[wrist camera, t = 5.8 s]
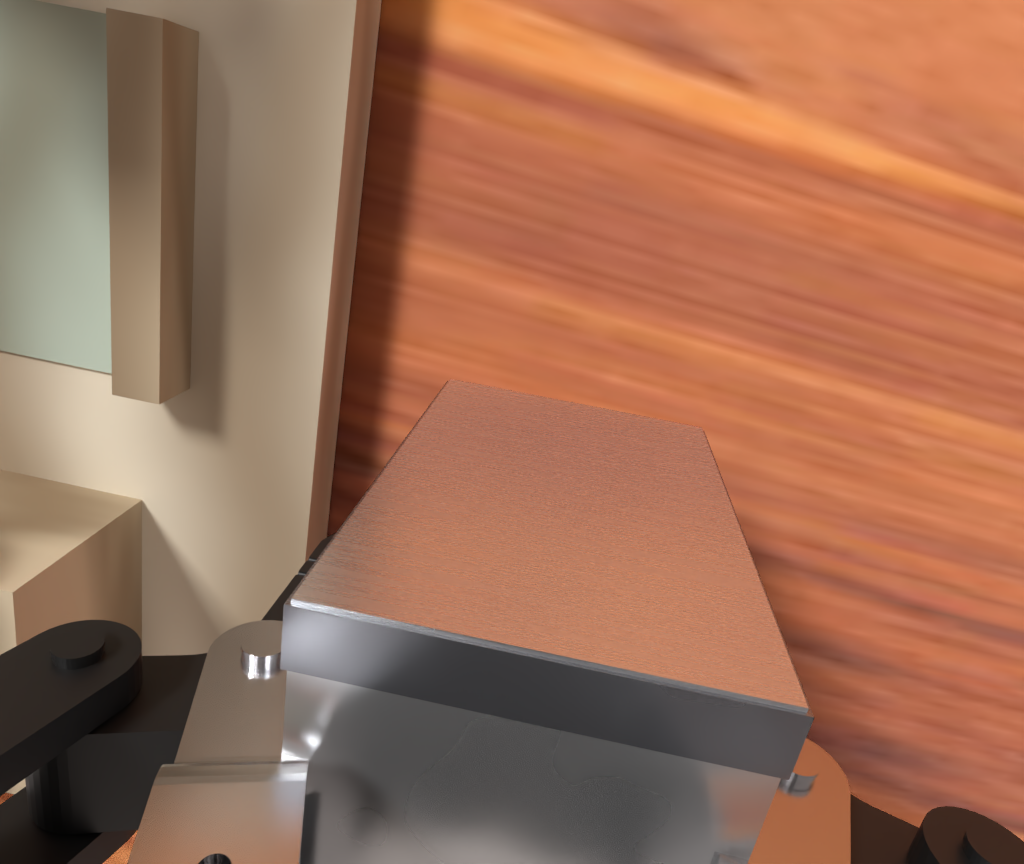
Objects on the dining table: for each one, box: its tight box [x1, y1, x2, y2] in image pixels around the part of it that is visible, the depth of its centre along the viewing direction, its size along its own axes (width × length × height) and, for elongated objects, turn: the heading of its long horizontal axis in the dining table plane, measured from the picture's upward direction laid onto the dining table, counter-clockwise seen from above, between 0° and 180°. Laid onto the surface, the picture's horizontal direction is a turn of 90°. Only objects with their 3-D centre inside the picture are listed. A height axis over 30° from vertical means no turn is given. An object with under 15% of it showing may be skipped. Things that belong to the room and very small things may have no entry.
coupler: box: [280, 379, 814, 864], centre depth 10 cm, size 5×6×7 cm
